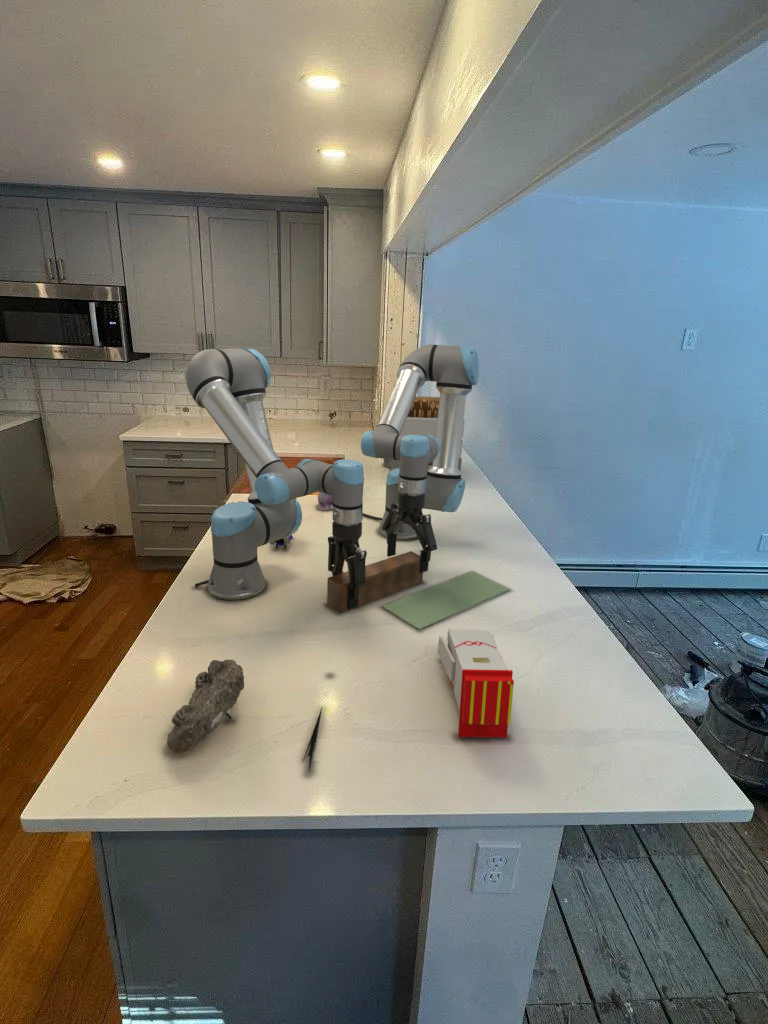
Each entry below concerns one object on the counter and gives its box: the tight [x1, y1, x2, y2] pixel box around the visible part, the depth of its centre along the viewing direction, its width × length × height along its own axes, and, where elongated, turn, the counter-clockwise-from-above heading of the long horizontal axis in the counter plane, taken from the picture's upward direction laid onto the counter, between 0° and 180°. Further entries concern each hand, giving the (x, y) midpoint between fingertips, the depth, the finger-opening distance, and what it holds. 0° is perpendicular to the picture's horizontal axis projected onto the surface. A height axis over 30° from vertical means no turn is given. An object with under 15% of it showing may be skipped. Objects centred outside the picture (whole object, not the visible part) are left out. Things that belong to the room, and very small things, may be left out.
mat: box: [382, 571, 510, 631], centre depth 157 cm, size 14×36×1 cm, turn 131°
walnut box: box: [326, 550, 424, 614], centre depth 156 cm, size 30×6×8 cm, turn 131°
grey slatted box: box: [383, 395, 465, 473], centre depth 268 cm, size 34×33×41 cm
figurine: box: [317, 492, 333, 511], centre depth 220 cm, size 9×10×15 cm
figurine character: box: [269, 534, 294, 550], centre depth 186 cm, size 7×8×15 cm
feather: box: [301, 673, 332, 771], centre depth 108 cm, size 2×28×2 cm
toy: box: [437, 628, 515, 738], centre depth 117 cm, size 12×13×30 cm
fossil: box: [166, 658, 245, 754], centre depth 106 cm, size 22×10×15 cm
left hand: (345, 602), depth 151 cm, fingers closed on walnut box, 6 cm apart
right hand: (406, 563), depth 162 cm, fingers open, 13 cm apart
